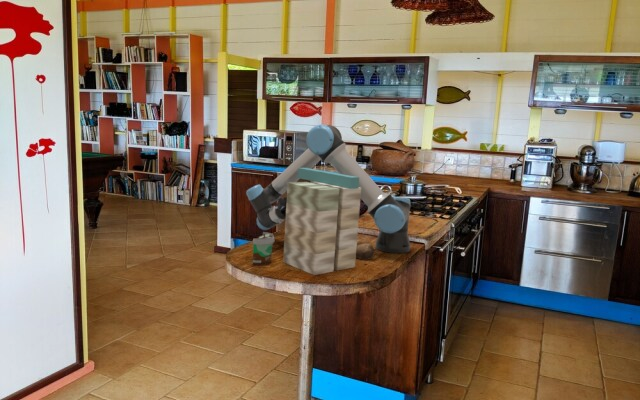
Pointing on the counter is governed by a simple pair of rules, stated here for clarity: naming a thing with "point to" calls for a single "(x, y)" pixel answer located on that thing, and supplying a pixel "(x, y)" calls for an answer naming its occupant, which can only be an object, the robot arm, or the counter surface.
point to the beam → (329, 178)
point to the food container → (262, 248)
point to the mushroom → (364, 251)
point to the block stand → (321, 227)
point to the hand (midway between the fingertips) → (311, 193)
